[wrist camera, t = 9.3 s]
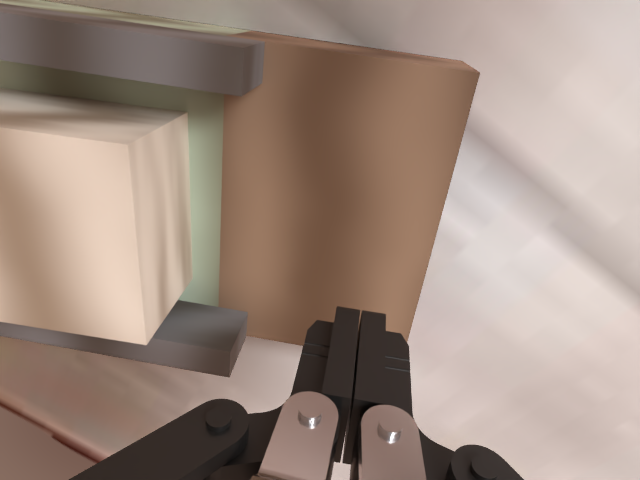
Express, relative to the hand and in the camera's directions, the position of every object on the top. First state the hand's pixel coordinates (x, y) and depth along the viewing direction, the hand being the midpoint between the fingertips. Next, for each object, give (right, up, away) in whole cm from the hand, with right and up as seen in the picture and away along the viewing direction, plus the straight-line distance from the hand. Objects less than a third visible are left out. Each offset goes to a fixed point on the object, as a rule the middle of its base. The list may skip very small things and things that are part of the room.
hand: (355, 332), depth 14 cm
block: (-11, +5, +7) cm, 14 cm away
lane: (-12, +7, +10) cm, 17 cm away
